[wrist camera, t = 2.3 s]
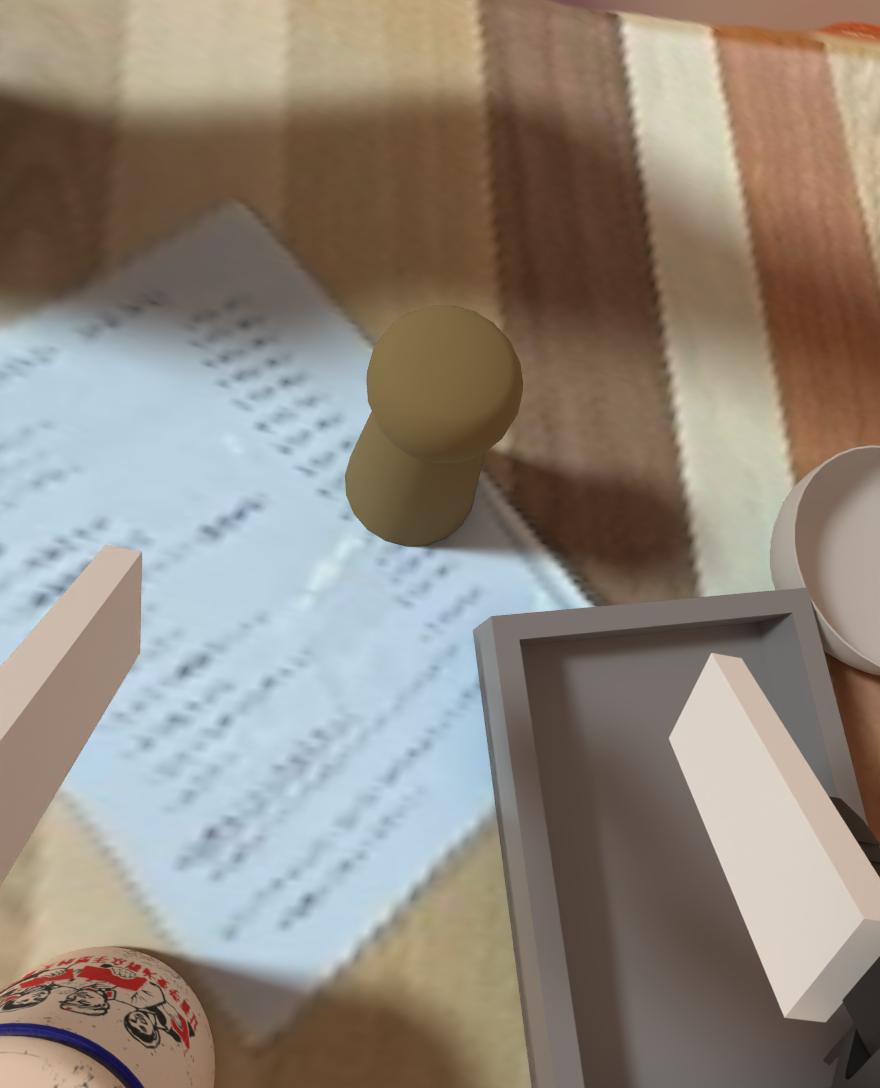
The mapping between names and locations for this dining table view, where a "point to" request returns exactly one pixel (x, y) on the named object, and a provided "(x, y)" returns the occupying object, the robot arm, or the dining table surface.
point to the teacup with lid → (104, 1025)
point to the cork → (431, 422)
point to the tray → (644, 841)
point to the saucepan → (836, 553)
